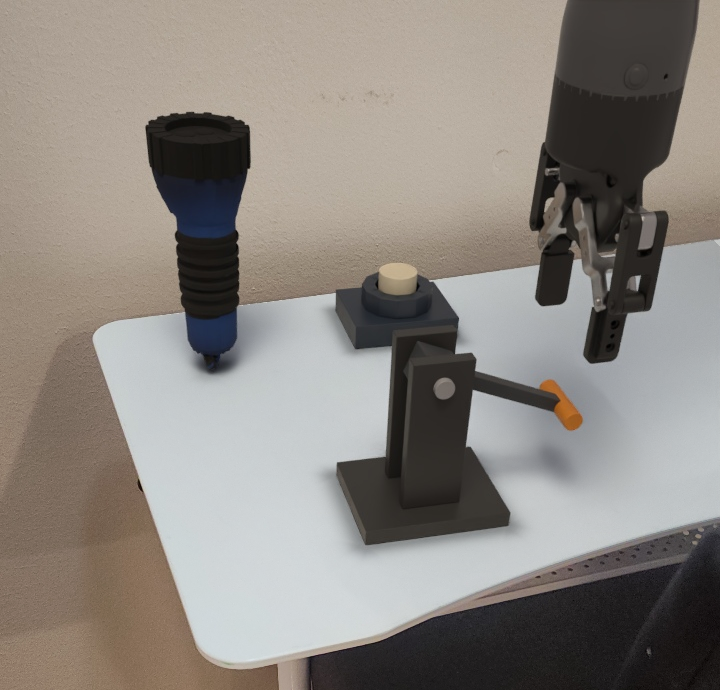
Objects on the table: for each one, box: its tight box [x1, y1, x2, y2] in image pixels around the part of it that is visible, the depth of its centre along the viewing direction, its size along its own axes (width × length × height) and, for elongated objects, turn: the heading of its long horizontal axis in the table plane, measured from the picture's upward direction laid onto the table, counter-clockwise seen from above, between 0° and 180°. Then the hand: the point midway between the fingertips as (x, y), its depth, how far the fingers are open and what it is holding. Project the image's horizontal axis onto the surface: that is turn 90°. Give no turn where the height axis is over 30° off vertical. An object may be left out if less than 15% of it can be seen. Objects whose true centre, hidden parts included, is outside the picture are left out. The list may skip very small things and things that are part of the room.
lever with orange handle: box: [403, 341, 584, 432], centre depth 71 cm, size 13×5×2 cm, turn 105°
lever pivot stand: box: [336, 325, 511, 546], centre depth 72 cm, size 11×9×13 cm
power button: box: [378, 262, 418, 295], centre depth 93 cm, size 4×4×2 cm
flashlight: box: [144, 111, 252, 370], centre depth 83 cm, size 8×8×20 cm
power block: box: [335, 271, 460, 350], centre depth 95 cm, size 10×8×4 cm
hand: (573, 330), depth 69 cm, fingers open, 8 cm apart
